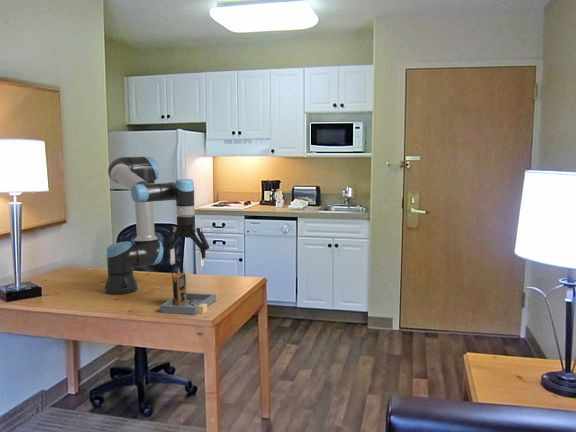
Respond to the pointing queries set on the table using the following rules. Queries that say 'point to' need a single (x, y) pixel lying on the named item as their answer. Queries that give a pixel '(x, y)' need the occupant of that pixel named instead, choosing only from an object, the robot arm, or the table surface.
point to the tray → (198, 299)
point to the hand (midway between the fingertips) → (187, 264)
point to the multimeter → (179, 287)
